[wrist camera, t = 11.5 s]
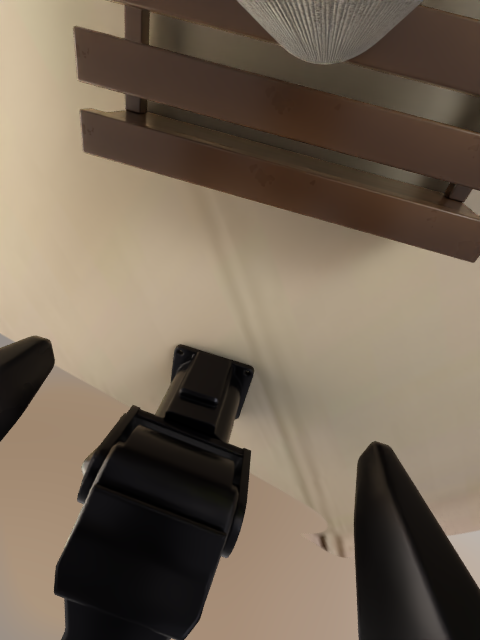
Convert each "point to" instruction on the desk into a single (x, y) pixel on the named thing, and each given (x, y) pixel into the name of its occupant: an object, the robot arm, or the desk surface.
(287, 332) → the desk surface
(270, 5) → the grey hollow cylinder
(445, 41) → the rack
